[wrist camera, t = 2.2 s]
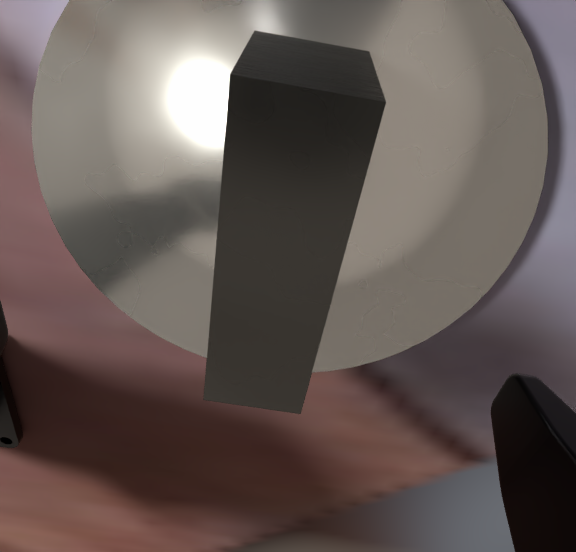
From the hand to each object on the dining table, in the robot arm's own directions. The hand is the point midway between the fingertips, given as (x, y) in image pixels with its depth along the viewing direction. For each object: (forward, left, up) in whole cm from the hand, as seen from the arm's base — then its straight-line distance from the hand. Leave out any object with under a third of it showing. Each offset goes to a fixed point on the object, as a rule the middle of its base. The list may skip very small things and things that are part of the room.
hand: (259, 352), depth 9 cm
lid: (0, 0, -7) cm, 7 cm away
